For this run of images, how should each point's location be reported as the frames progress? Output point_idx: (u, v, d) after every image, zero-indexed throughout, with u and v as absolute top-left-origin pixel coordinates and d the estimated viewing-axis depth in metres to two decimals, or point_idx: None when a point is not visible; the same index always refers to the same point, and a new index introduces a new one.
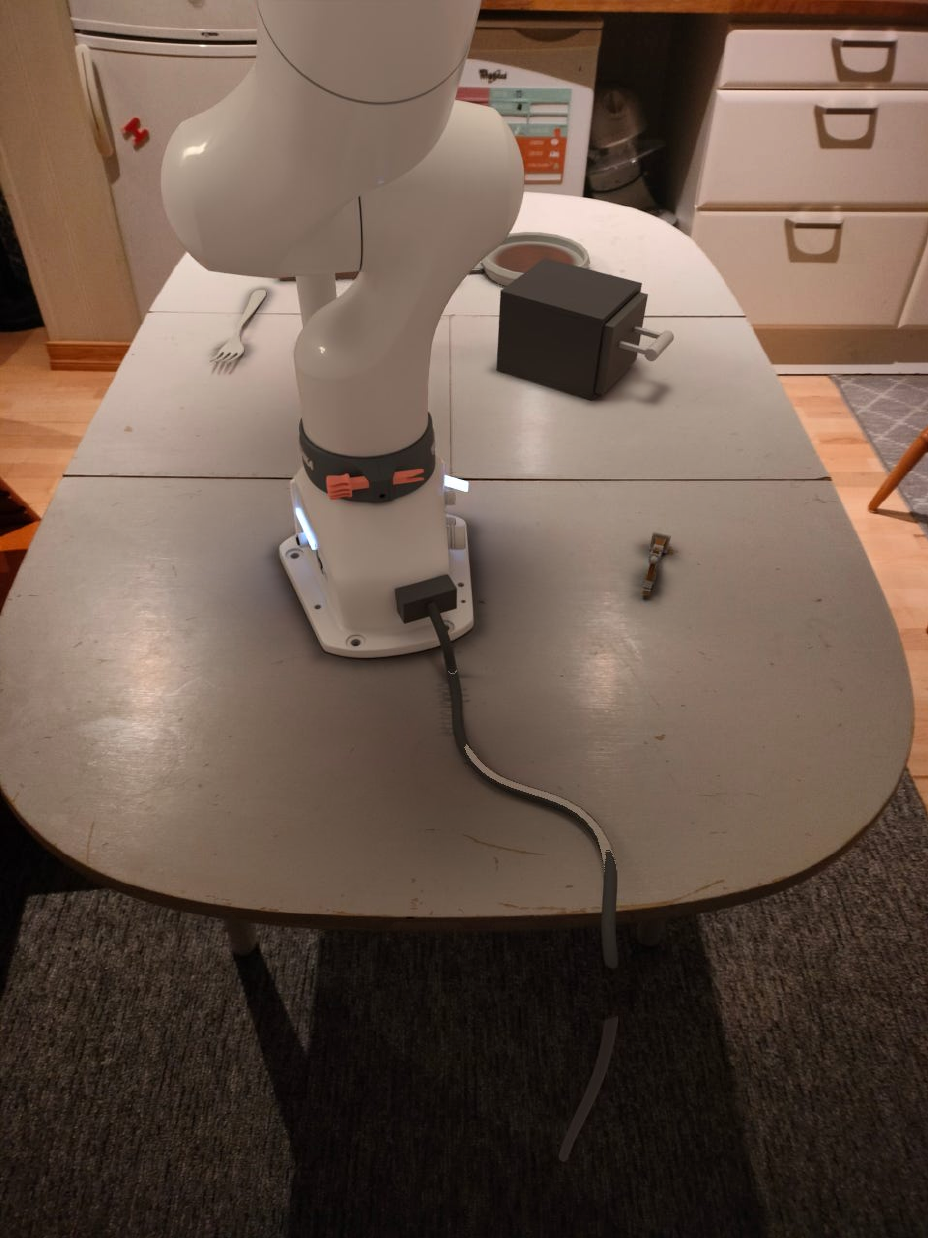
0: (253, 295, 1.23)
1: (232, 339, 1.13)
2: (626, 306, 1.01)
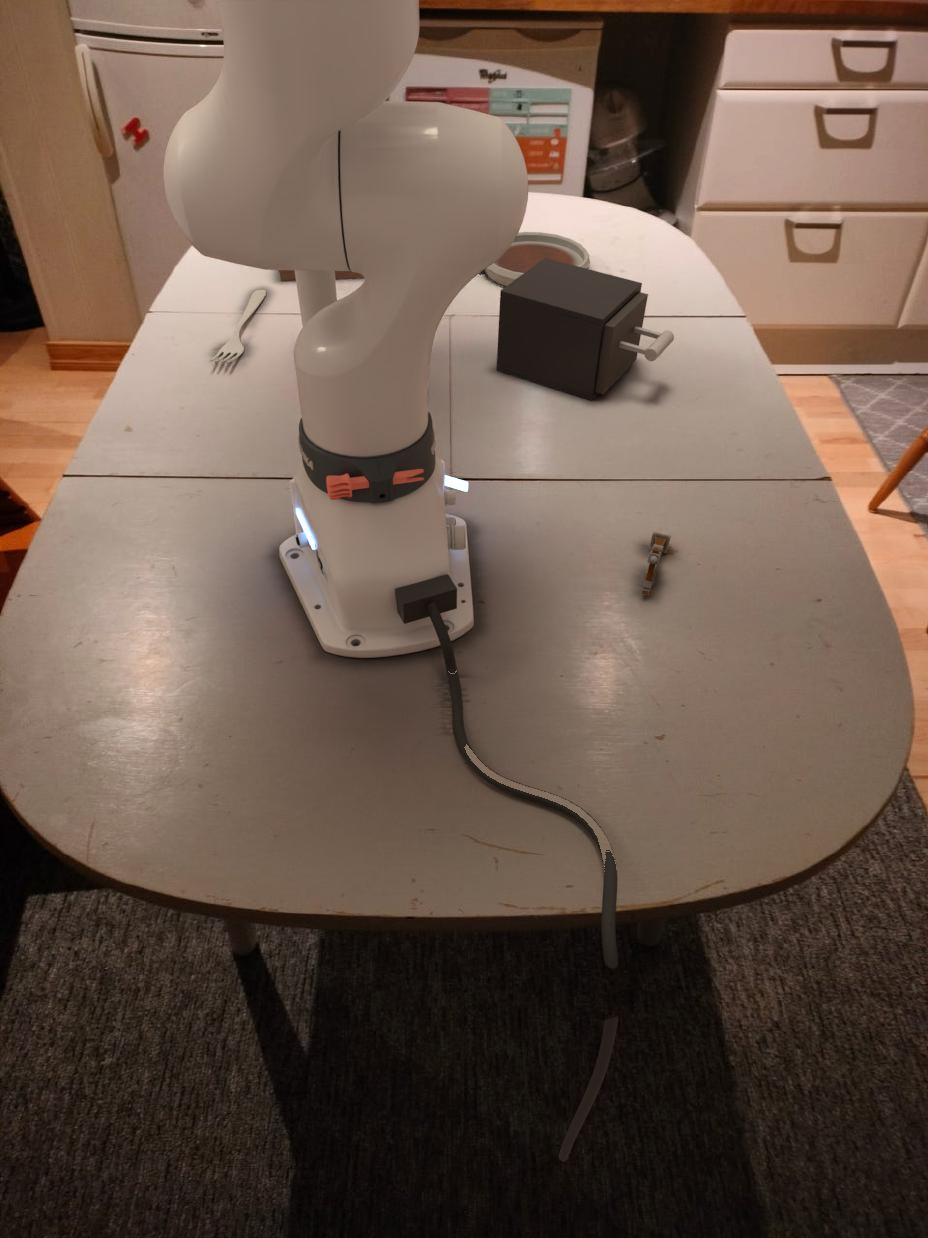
0: (253, 295, 1.23)
1: (232, 339, 1.13)
2: (626, 306, 1.01)
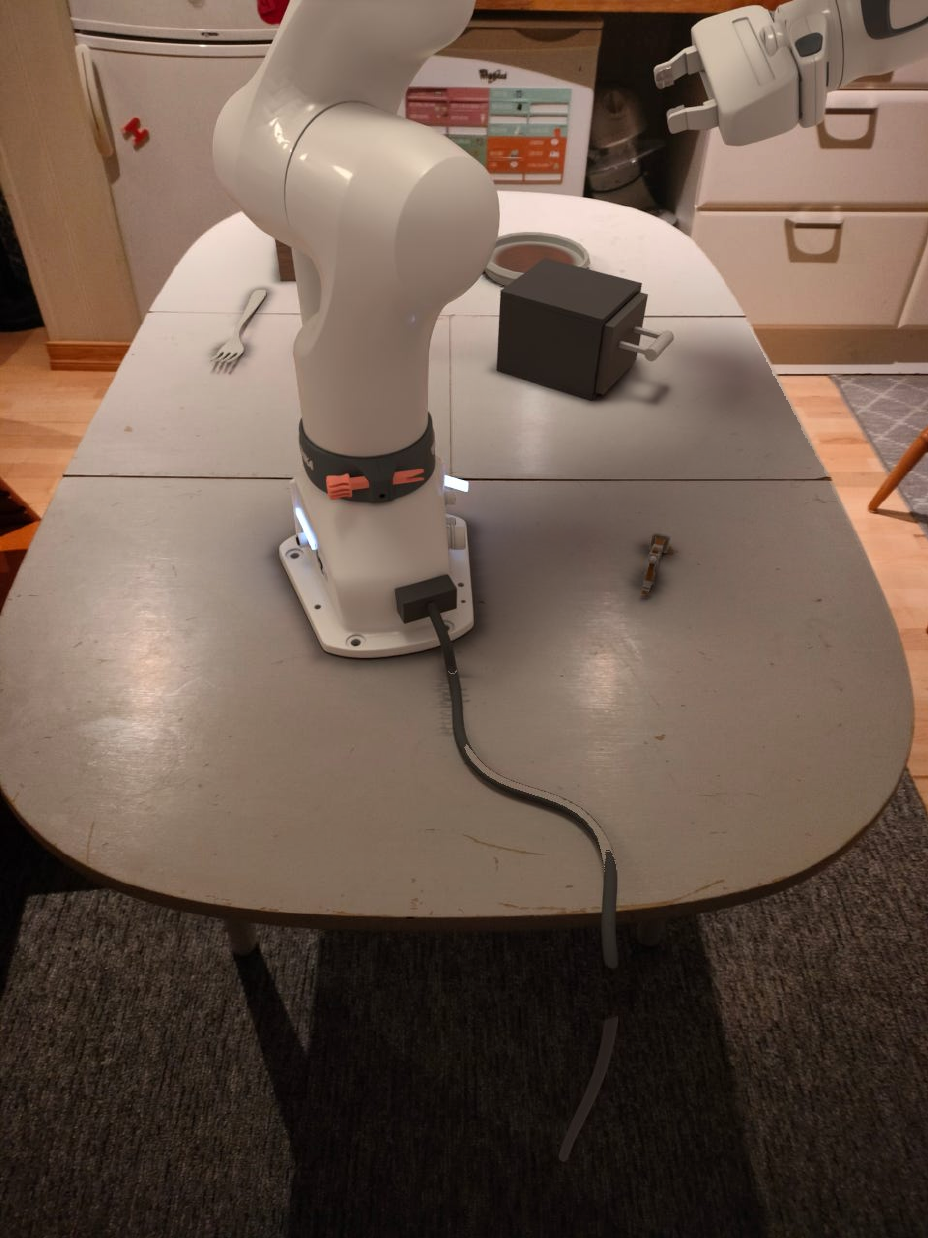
0: (253, 295, 1.23)
1: (232, 339, 1.13)
2: (626, 306, 1.01)
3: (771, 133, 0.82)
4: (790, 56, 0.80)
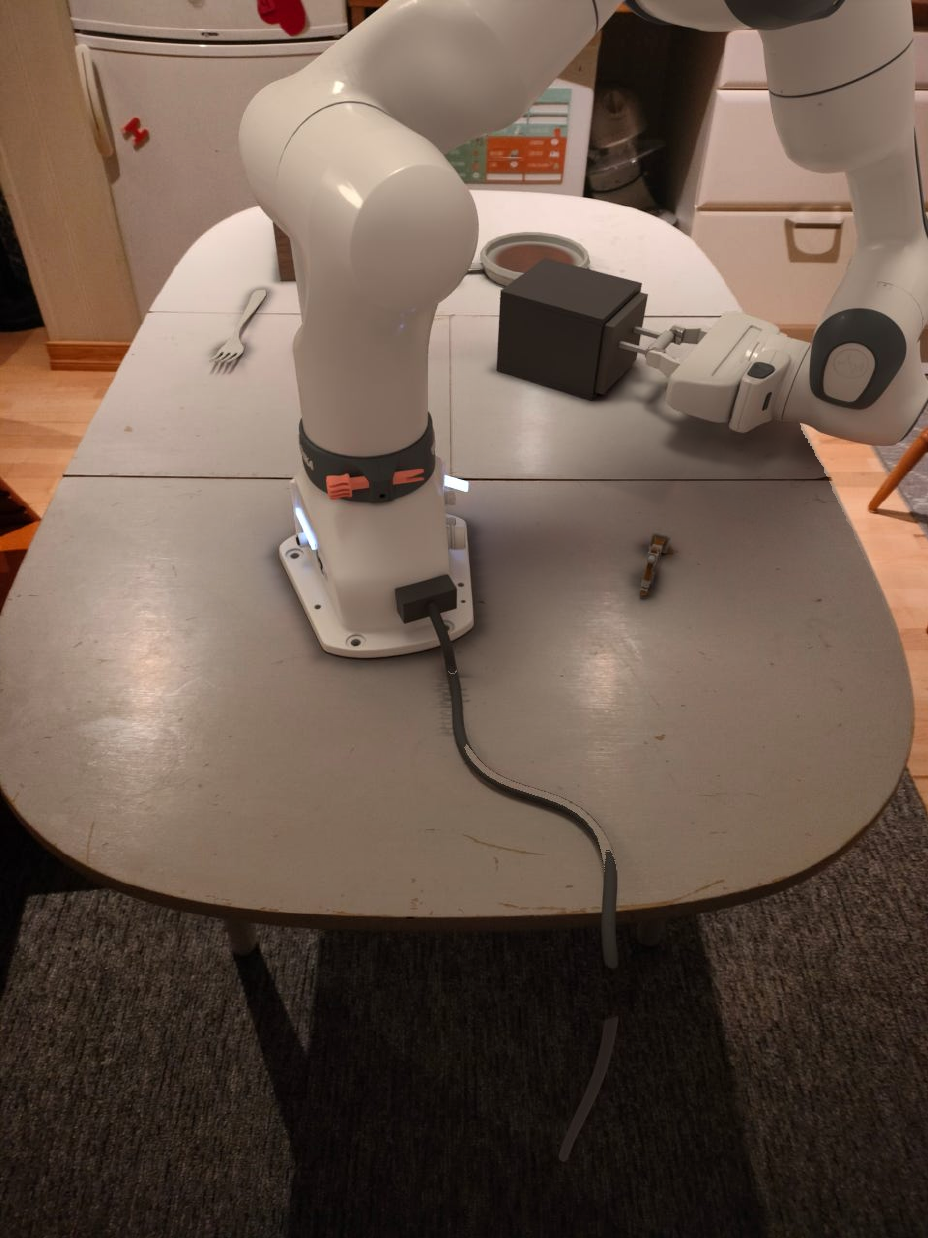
0: (253, 295, 1.23)
1: (232, 339, 1.13)
2: (626, 306, 1.01)
3: (699, 415, 0.94)
4: (744, 370, 0.92)
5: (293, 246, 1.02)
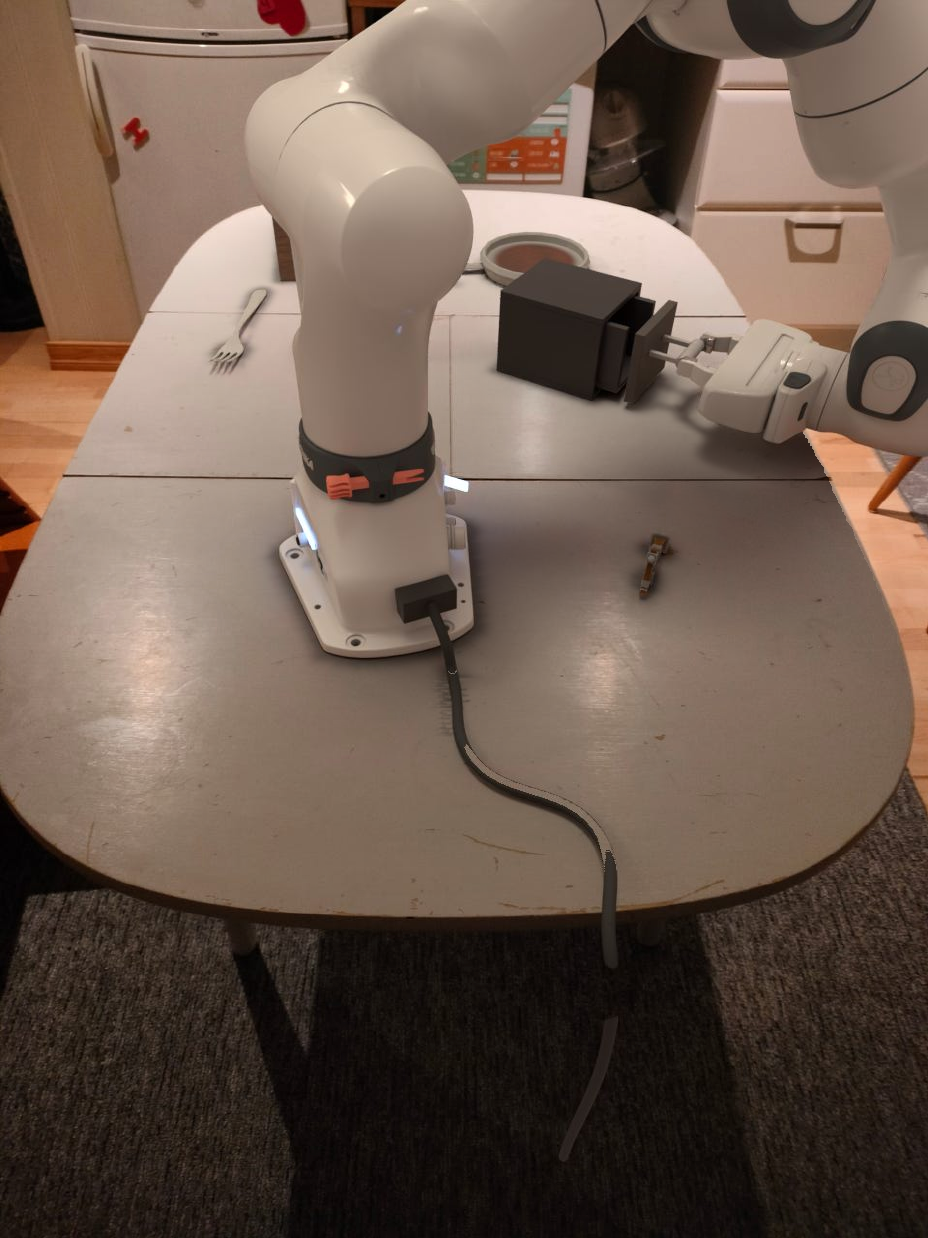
0: (253, 295, 1.23)
1: (232, 339, 1.13)
2: (656, 314, 1.00)
3: (733, 425, 0.92)
4: (780, 380, 0.91)
5: None
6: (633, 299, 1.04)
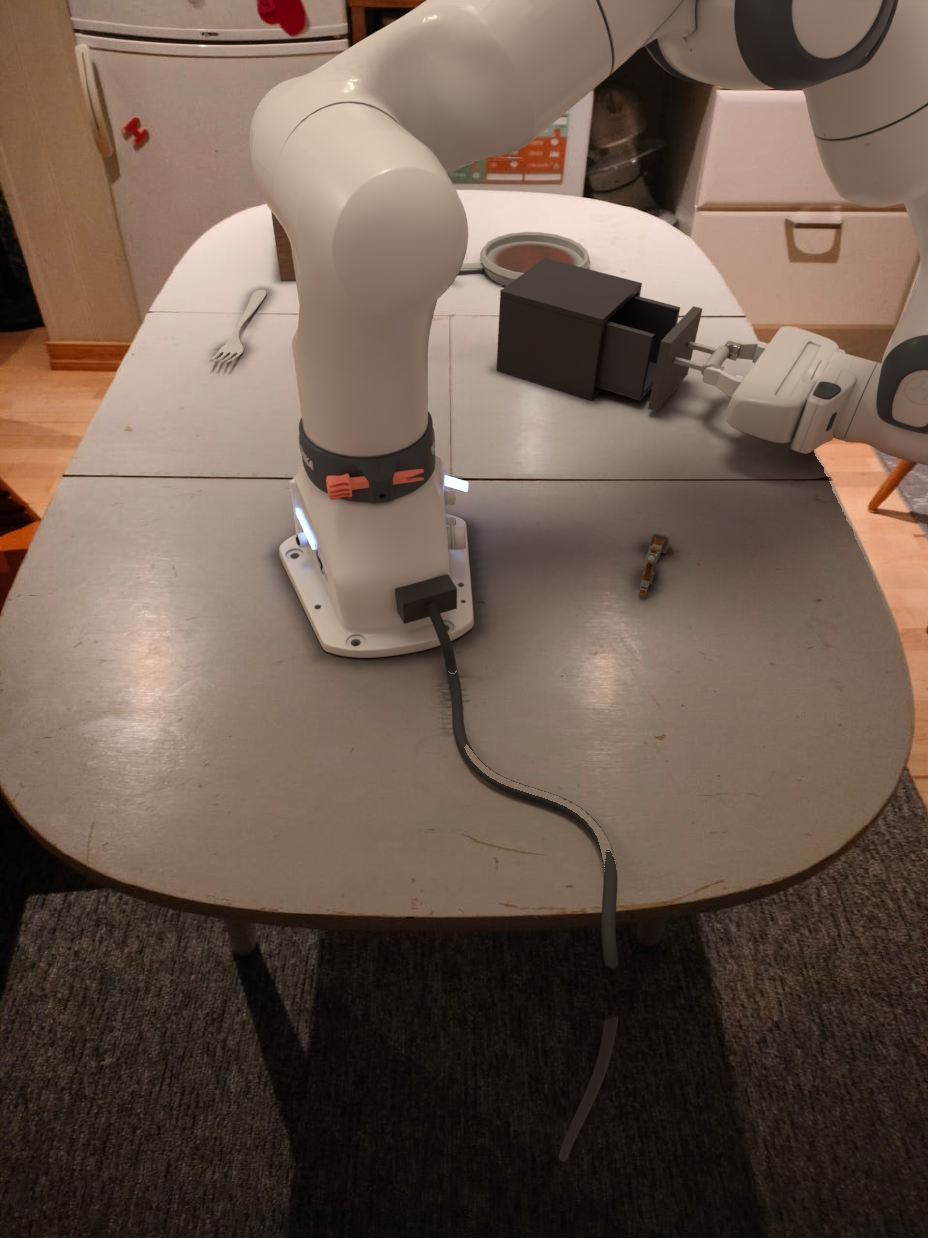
0: (253, 295, 1.23)
1: (232, 339, 1.13)
2: (681, 321, 0.99)
3: (761, 435, 0.91)
4: (809, 389, 0.90)
5: None
6: (657, 305, 1.03)
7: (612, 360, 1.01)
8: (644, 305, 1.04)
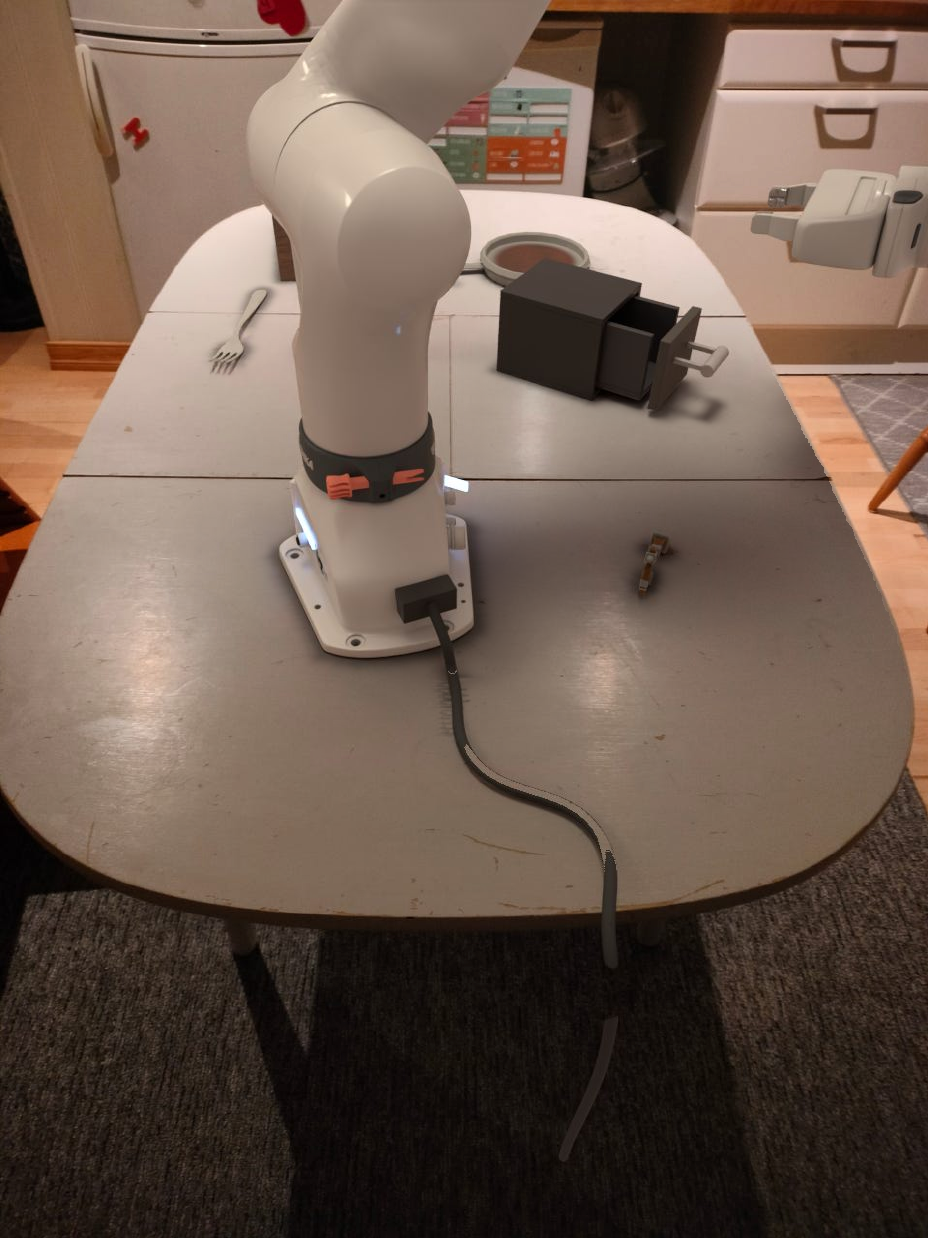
0: (253, 295, 1.23)
1: (231, 339, 1.13)
2: (681, 321, 0.99)
3: (838, 263, 0.79)
4: (885, 201, 0.78)
5: None
6: (656, 305, 1.03)
7: (611, 359, 1.01)
8: (643, 305, 1.04)
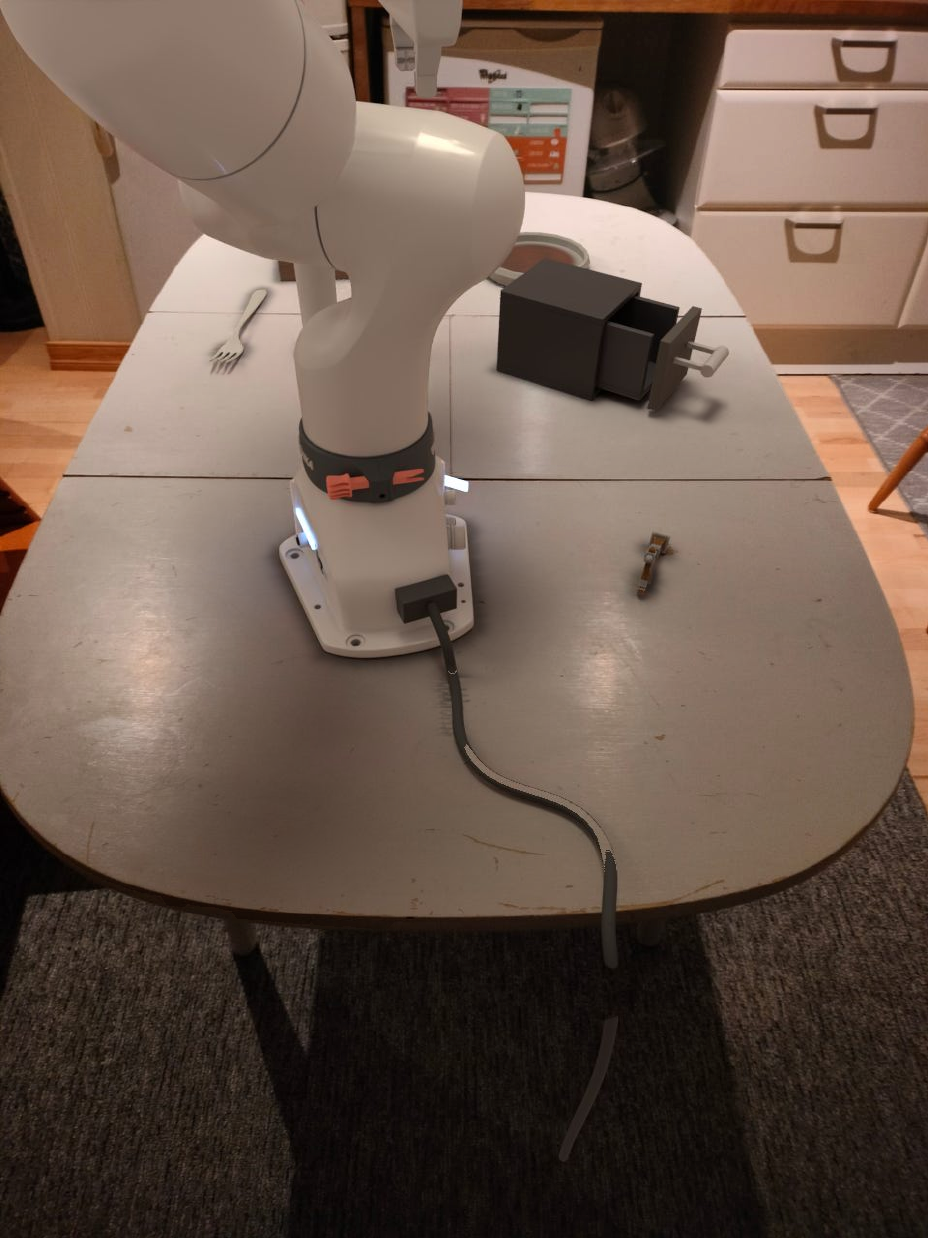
0: (253, 295, 1.23)
1: (231, 339, 1.13)
2: (681, 321, 0.99)
3: None
4: None
5: None
6: (656, 305, 1.03)
7: (611, 359, 1.01)
8: (643, 305, 1.04)
